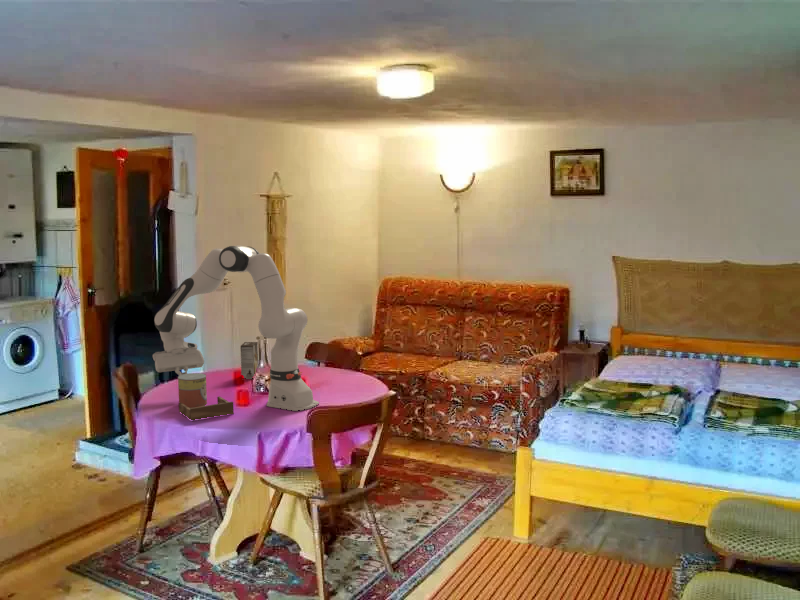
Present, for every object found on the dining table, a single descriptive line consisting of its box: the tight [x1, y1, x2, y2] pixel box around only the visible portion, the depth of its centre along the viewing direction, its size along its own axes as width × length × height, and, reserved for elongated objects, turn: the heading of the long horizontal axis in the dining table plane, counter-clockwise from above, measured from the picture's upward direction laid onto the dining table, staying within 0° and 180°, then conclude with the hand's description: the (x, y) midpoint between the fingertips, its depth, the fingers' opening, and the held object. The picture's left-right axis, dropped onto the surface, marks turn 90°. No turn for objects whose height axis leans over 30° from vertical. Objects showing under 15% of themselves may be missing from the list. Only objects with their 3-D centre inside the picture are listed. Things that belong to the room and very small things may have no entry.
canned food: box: [177, 372, 208, 408], centre depth 313 cm, size 11×11×12 cm
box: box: [178, 396, 235, 420], centre depth 301 cm, size 14×17×5 cm
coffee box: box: [240, 341, 259, 380], centre depth 360 cm, size 9×6×16 cm
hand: (184, 377), depth 320 cm, fingers closed
